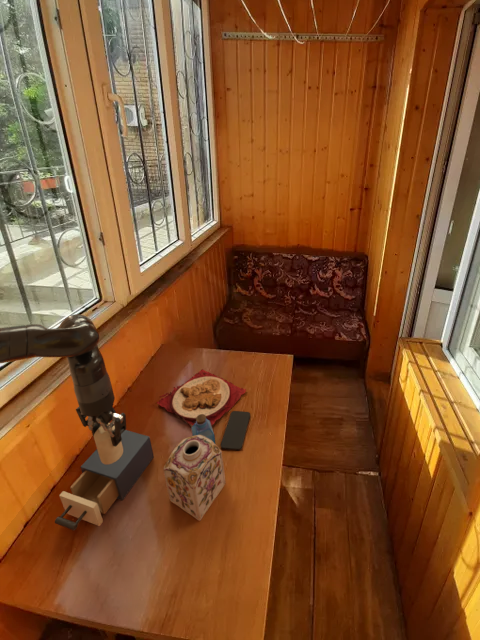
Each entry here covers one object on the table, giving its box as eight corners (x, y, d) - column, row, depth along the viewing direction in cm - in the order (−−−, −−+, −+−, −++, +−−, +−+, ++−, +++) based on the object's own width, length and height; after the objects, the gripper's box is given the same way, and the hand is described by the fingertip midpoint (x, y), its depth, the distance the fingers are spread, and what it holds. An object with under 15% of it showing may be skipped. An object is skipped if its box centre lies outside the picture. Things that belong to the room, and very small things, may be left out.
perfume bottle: (193, 441, 106) (189, 414, 102) (211, 434, 109) (208, 407, 104) (197, 456, 101) (193, 429, 97) (216, 448, 103) (212, 421, 99)
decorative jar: (197, 465, 98) (191, 422, 92) (227, 483, 93) (222, 438, 87) (168, 502, 88) (158, 456, 82) (199, 523, 83) (191, 477, 77)
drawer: (85, 545, 78) (79, 526, 76) (51, 530, 81) (43, 512, 78) (133, 479, 93) (129, 462, 91) (103, 469, 96) (97, 452, 94)
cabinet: (122, 500, 89) (116, 478, 85) (87, 488, 92) (80, 466, 89) (154, 457, 101) (149, 436, 98) (122, 447, 104) (116, 427, 101)
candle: (127, 452, 85) (120, 424, 82) (107, 468, 81) (99, 440, 78) (116, 442, 88) (109, 415, 85) (96, 457, 84) (88, 430, 80)
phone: (219, 447, 103) (231, 410, 117) (219, 449, 103) (231, 412, 117) (241, 449, 102) (250, 412, 116) (241, 451, 102) (251, 413, 116)
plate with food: (204, 436, 108) (203, 429, 107) (156, 404, 120) (155, 398, 119) (247, 393, 127) (247, 386, 126) (202, 369, 139) (201, 363, 138)
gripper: (58, 395, 76) (74, 445, 81) (104, 408, 72) (119, 460, 77) (84, 374, 82) (98, 422, 88) (129, 385, 78) (140, 435, 84)
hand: (108, 440), depth 83 cm, fingers closed on candle, 5 cm apart
